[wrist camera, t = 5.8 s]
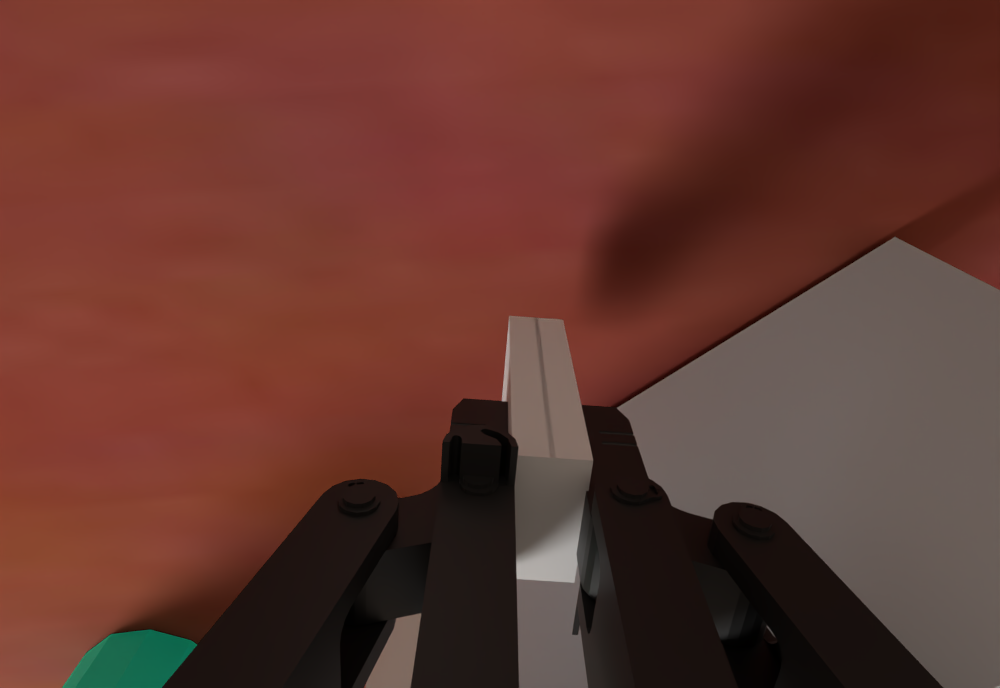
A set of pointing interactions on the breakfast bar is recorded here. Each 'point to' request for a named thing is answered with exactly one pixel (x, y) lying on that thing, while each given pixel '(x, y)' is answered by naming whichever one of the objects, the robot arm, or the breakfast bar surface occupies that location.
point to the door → (841, 456)
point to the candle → (131, 661)
